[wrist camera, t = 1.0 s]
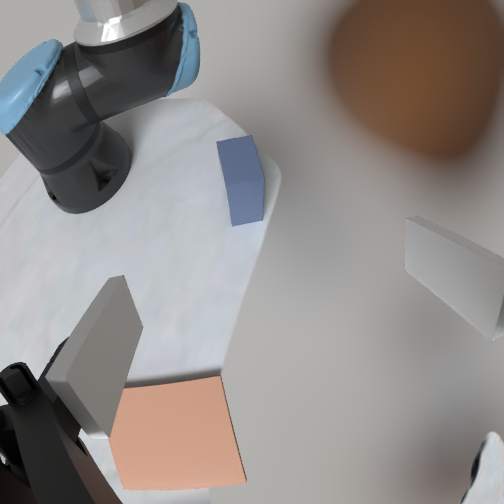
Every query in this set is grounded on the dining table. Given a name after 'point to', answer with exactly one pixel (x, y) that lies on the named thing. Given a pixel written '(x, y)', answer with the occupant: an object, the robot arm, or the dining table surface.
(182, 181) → the dining table surface
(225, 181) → the block
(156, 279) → the dining table surface
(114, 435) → the plate
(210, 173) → the dining table surface
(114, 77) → the robot arm
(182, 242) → the dining table surface
